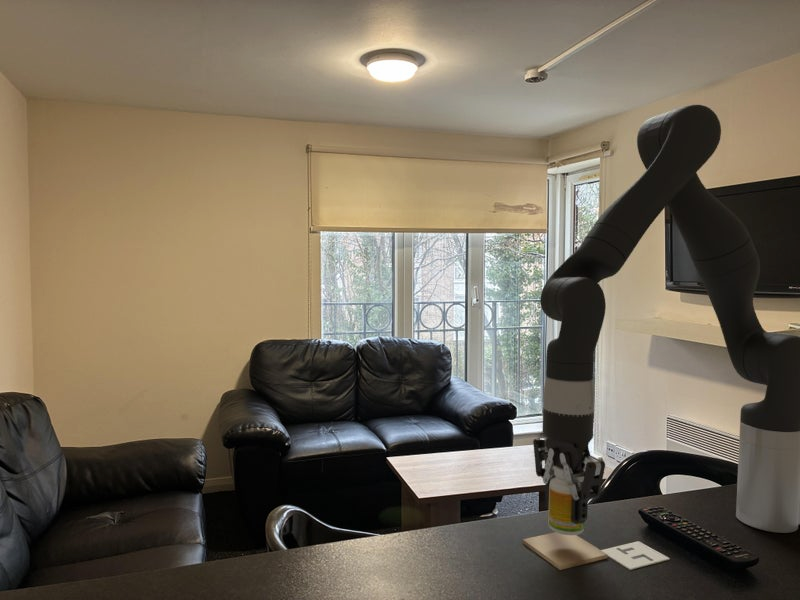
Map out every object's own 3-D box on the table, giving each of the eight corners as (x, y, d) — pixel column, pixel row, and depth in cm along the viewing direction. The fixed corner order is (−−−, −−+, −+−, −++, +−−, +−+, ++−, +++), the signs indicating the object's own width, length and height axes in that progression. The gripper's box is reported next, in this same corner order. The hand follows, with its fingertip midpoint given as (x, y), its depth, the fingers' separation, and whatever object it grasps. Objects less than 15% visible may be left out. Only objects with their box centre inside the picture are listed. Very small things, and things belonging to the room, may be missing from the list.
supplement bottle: (585, 538, 87) (588, 474, 86) (548, 534, 88) (550, 471, 87) (582, 522, 92) (584, 462, 92) (547, 519, 93) (548, 459, 93)
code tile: (638, 542, 93) (638, 541, 93) (669, 559, 88) (669, 558, 88) (600, 551, 90) (600, 550, 90) (630, 570, 84) (630, 568, 84)
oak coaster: (567, 533, 96) (567, 529, 96) (607, 558, 88) (607, 554, 88) (522, 543, 92) (522, 539, 92) (559, 570, 84) (560, 566, 84)
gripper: (622, 415, 84) (618, 529, 85) (557, 395, 97) (554, 494, 98) (581, 420, 81) (578, 538, 82) (520, 398, 94) (517, 501, 95)
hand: (565, 514), depth 90 cm, fingers closed on supplement bottle, 5 cm apart
